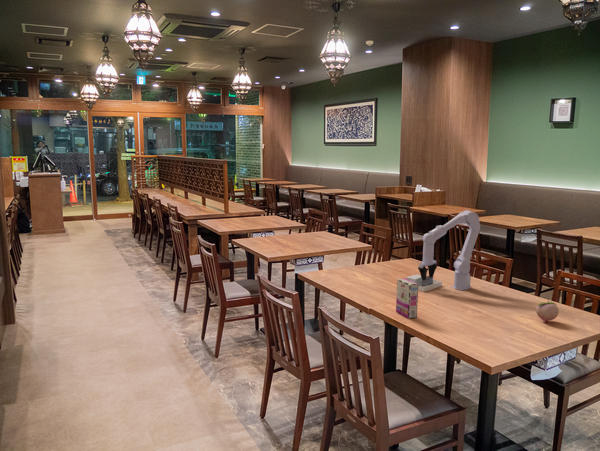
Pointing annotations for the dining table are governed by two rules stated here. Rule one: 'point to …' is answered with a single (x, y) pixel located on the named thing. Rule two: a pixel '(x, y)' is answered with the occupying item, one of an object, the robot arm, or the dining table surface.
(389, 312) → the dining table surface
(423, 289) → the tote
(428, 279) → the metal block
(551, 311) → the decorative fruit
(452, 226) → the robot arm
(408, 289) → the candy bar box
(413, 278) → the plain white rectangular box
